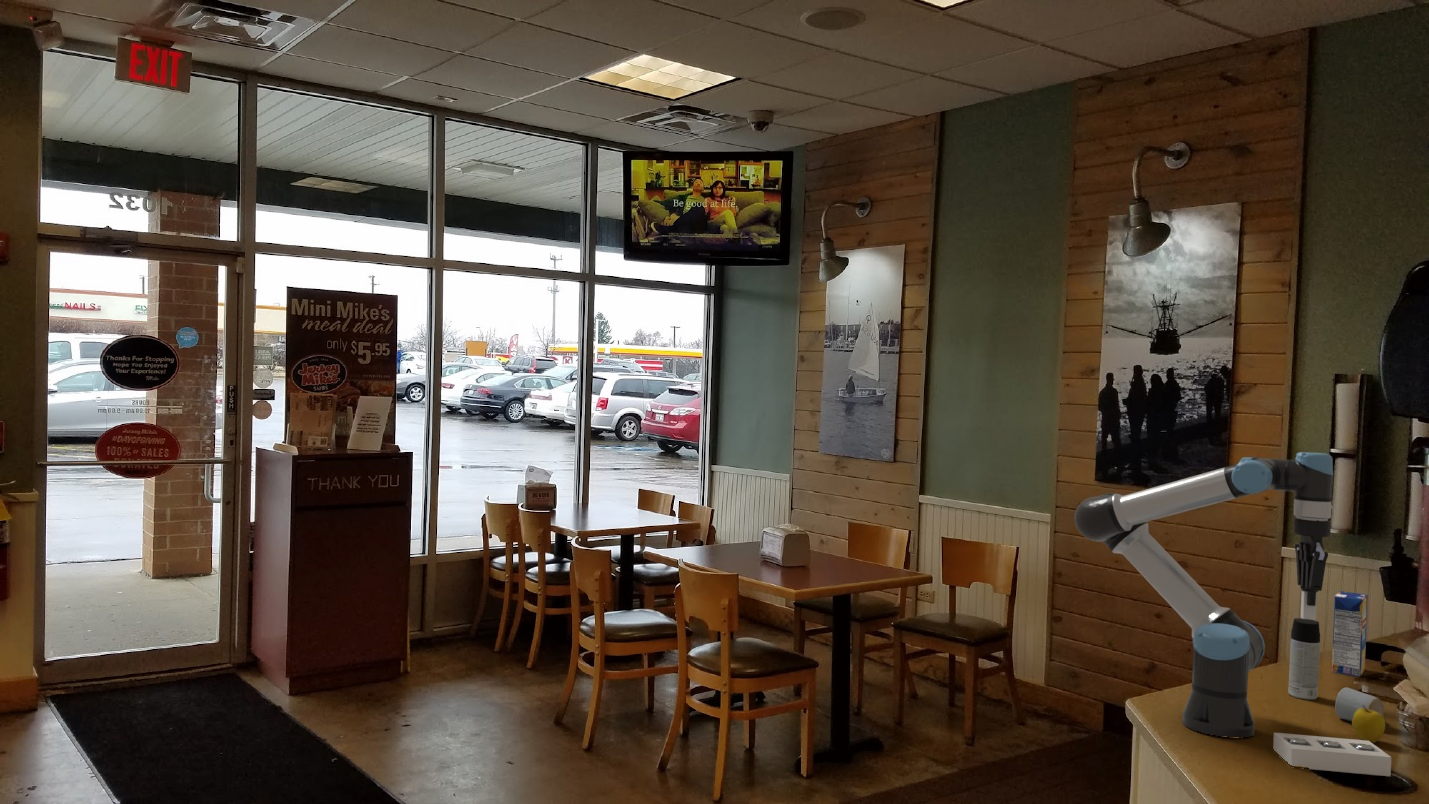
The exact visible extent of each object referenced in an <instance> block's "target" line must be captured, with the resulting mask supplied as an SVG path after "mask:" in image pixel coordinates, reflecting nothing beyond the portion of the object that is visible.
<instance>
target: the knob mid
mask: <svg viewBox="0 0 1429 804" xmlns="http://www.w3.org/2000/svg"><path fill="white" fill-rule="evenodd" d="M1321 745H1322V746H1323V747H1328V748H1340V749H1341V745H1339V744H1338V743H1336V742H1332V741H1322V742H1321Z"/></svg>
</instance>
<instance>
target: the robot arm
mask: <svg viewBox="0 0 1429 804" xmlns="http://www.w3.org/2000/svg"><path fill="white" fill-rule="evenodd" d="M1295 456H1296V457H1295V458H1294V459H1280V458H1265V457H1258V456H1254V457H1252V456H1251V457H1249V456H1248V457H1247V456H1246V457H1242V458H1241V459H1240V460H1239V461H1238V463H1237V464H1232V465H1229V466H1226V467H1222V468H1221V467H1220V468H1218V469H1215V470H1211V471H1206V472H1204V473H1201V474H1197V475H1193V476H1190V477H1186V478H1182V479H1179V480H1175V481H1172V482H1168V483H1164V484H1161V485H1158V486H1154V487H1151V488H1147V489H1142V490H1140V491H1139V490H1138V491H1136V492H1133V493H1128V494H1125V495H1123V494H1118V493H1105V494H1100V495H1097V496H1090V497H1088V498H1086V499H1084V500H1083V501H1081V502H1080V503H1079V504H1078V506H1077V507H1076V510H1075V512H1074V516H1073V517H1074V524H1075V527H1076V530H1078V532H1079V533H1080V534H1081V535H1082V536H1083V537H1084V538H1085V539H1088V540H1090V541H1094V542H1099V543H1100V542H1102V543H1103V544H1104V545H1105V546H1106V547H1107V548H1108V549H1109V550H1110V551H1111V553H1113V554H1121V555H1122V556H1123V557H1125V559H1126V560H1127V561H1128V562H1129V563H1130V564H1131V565H1132V566H1133V567H1134V568H1135V569H1136V571H1138V572H1139V574H1140V575H1141V576H1142V577H1144V579H1145V580H1146V581H1147V582H1148V583H1149V584H1150V585H1151V586H1152V587H1153V589H1154V590H1155V591H1157V593H1158V594H1159V595H1160V596H1161V597H1162V598H1163V599H1164V600H1165V601H1166V602H1167V604H1169V606H1170V607H1171V608H1172V609H1173V610H1174V611H1175V612H1176V613H1177V614H1178V615H1179V616H1180V618H1181V619H1182V620H1184V622H1185V623H1186V624H1187V625H1188V626H1189V627H1190V628H1191V638H1192V647H1193V649H1192V677H1191V680H1192V681H1191V682H1192V683H1191V691H1190V695H1188V696H1189V697H1188V699H1187V702H1186V704H1185V707H1184V708H1183V711H1182V719H1181V720H1182V724H1183V725H1184V726H1185V727H1186V728H1188V729H1191V730H1192V731H1194V732H1197V731H1199V732H1198V733H1200V732H1201V733H1200V734H1203V733H1204V735H1207V734H1212V735H1217V736H1227V737H1239V738H1238V739H1242V738H1241V737H1249V736H1252V737H1254V735H1255V727H1256V726H1255V725H1256V724H1255V721H1254V717H1253V714H1252V711H1251V707H1250V705H1249V702H1248V690H1249V689H1248V688H1249V687H1248V686H1249V685H1248V684H1249V672H1250V671H1251V670H1253V669H1255V668H1256V667H1257V666H1259V664H1260V663H1261V661H1262V660H1263V658H1264V657H1263V656H1264V655H1265V649H1266V648H1265V647H1266V646H1265V641H1264V638H1263V635H1262V634H1261V632H1260V631H1259V630H1258V628H1257V627H1256V626H1254V625H1253V624H1251V623H1249V622H1247V621H1245V620H1242V619H1241V618H1240V617H1239V616H1238V615H1237V614H1236V613H1235V612H1234V611H1233V610H1232V609H1231V608H1229V607H1223V606H1220V605H1219V604H1218V603H1217V602H1216V601H1215V600H1214V599H1213V598H1212V597H1211V596H1210V595H1209V594H1208V593H1207V592H1206V591H1205V589H1203V588H1202V587H1201V586H1200V585H1199V584H1198V583H1197V581H1196V580H1195V579H1194V578H1193V577H1191V575H1189V573H1188V572H1187V571H1186V570H1185V569H1184V568H1183V567H1182V566H1181V565H1180V564H1179V563H1178V562H1177V561H1176V560H1175V559H1174V558H1173V556H1171V555H1170V554H1169V553H1168V552H1167V550H1165V549H1164V547H1163V546H1162V545H1161V544H1160V543H1159V542H1158V541H1157V540H1156V539H1155V537H1153V536H1152V535H1151V534H1150V531H1149V523H1148V522H1151V521H1154V520H1158V519H1161V518H1166V517H1170V516H1173V515H1177V514H1182V513H1184V512H1189V511H1191V510H1196V509H1199V508H1200V509H1201V508H1204V507H1207V506H1212V505H1215V504H1219V503H1223V502H1227V501H1230V500H1234V499H1237V498H1243V497H1246V496H1250V495H1257V494H1259V493H1263V492H1266V491H1280V492H1281V491H1284V492H1294V499H1293V516H1295V517H1294V519H1293V526H1292V529H1293V531H1292V532H1293V533H1294V535H1299V537H1300V538H1299V542H1298V543H1295V544H1294V549H1295V550H1294V551H1295V556H1296V557H1295V558H1296V561H1295V562H1296V576H1297V578H1296V579H1297V585H1298V586H1299V587H1300V589H1301V596H1300V597H1301V600H1300V601H1301V602H1300V603H1301V604H1300V618H1302V619H1310V620H1314V621H1317V599H1318V597H1317V596H1318V592H1321V591H1323V585H1324V584H1323V583H1324V576H1325V570H1326V563H1327V560H1328V557H1329V552H1328V551H1324V550H1325V548H1324V547H1325V546H1324V541H1323V538H1328V537H1330V536H1331V532H1332V531H1331V529H1332V528H1331V527H1332V522H1331V521H1330V520H1329V519H1331V518H1332V510H1333V509H1334V506H1333V505H1332V501H1333V500H1332V499H1333V483H1334V466H1333V464H1334V463H1333V461H1334V460H1333V456H1331V454H1328V453H1324V452H1308V451H1305V452H1304V451H1300V452H1297V453H1296V455H1295ZM1212 735H1211V736H1212ZM1217 736H1216V737H1217ZM1249 738H1250V737H1249Z"/></svg>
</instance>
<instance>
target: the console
mask: <svg viewBox="0 0 1429 804" xmlns="http://www.w3.org/2000/svg"><path fill="white" fill-rule="evenodd" d="M1289 738H1299V739H1303V740H1305V741H1306V742H1307V746H1306V745H1294V744H1290V743H1289V742H1288V739H1289ZM1322 741H1332V742H1336V743H1338V744H1339V745H1341V749H1340V748H1328V747H1323V746H1322V745H1321V742H1322ZM1355 744H1366V745H1369V746H1372V747H1373V748H1374V752H1373V751H1362V750H1357V749H1356V748H1354V745H1355ZM1272 747H1273V748H1272V750H1273V749H1274V751H1276V752H1277V753H1278V754H1279V755H1280V756H1281V757H1282V758H1283V759H1284V760H1285V761H1287V762H1288V764H1290V765H1292V766H1302V767H1308V768H1309V769H1308V770H1315V771H1330V772H1339V773H1348V774H1349V773H1350V774H1359V775H1360V774H1361V775H1370V776H1382V777H1383V776H1385V777H1392V776H1391V775H1392V773H1391V772H1392V756H1390V755H1389V754H1388V753H1386V752H1385V751H1384V750H1382V749H1381V748H1379V747H1378V746H1377V745H1375V743H1372V742H1370V741H1365V740H1363V739H1354V738H1353V739H1352V738H1340V737H1331V736H1330V737H1329V736H1317V735H1306V734H1305V735H1304V734H1295V733H1283V732H1273V745H1272ZM1274 751H1273V752H1274ZM1280 756H1279V757H1280ZM1281 757H1280V758H1281ZM1282 758H1281V759H1282ZM1283 759H1282V760H1283ZM1284 760H1283V761H1284ZM1285 761H1284V762H1285ZM1288 764H1287V765H1288Z"/></svg>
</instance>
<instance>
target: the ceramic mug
mask: <svg viewBox="0 0 1429 804" xmlns="http://www.w3.org/2000/svg"><path fill="white" fill-rule="evenodd" d="M1363 705H1364V707H1365V708H1366V709H1370V710H1373V711H1376V712H1378V713H1380V714H1381V715H1382V716H1383V717H1384V713H1385V707H1384V703H1383V701H1382V700H1381V699H1379V698H1378V697H1376V696H1374V695H1371V694H1367V693H1364V692H1361V691H1359V690H1356V689H1354V688H1350V687H1344V688H1341V690H1339V692H1338V694H1337V695H1336V699H1335V706H1334V707H1335V708H1334V710H1335V714H1336V716H1337V717H1338V718H1339V719H1342V720H1345V721H1348V722H1351V723H1352V719H1353V716H1354V714H1355V712H1356V711H1357V710H1358V709H1360V708H1364V707H1363Z"/></svg>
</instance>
